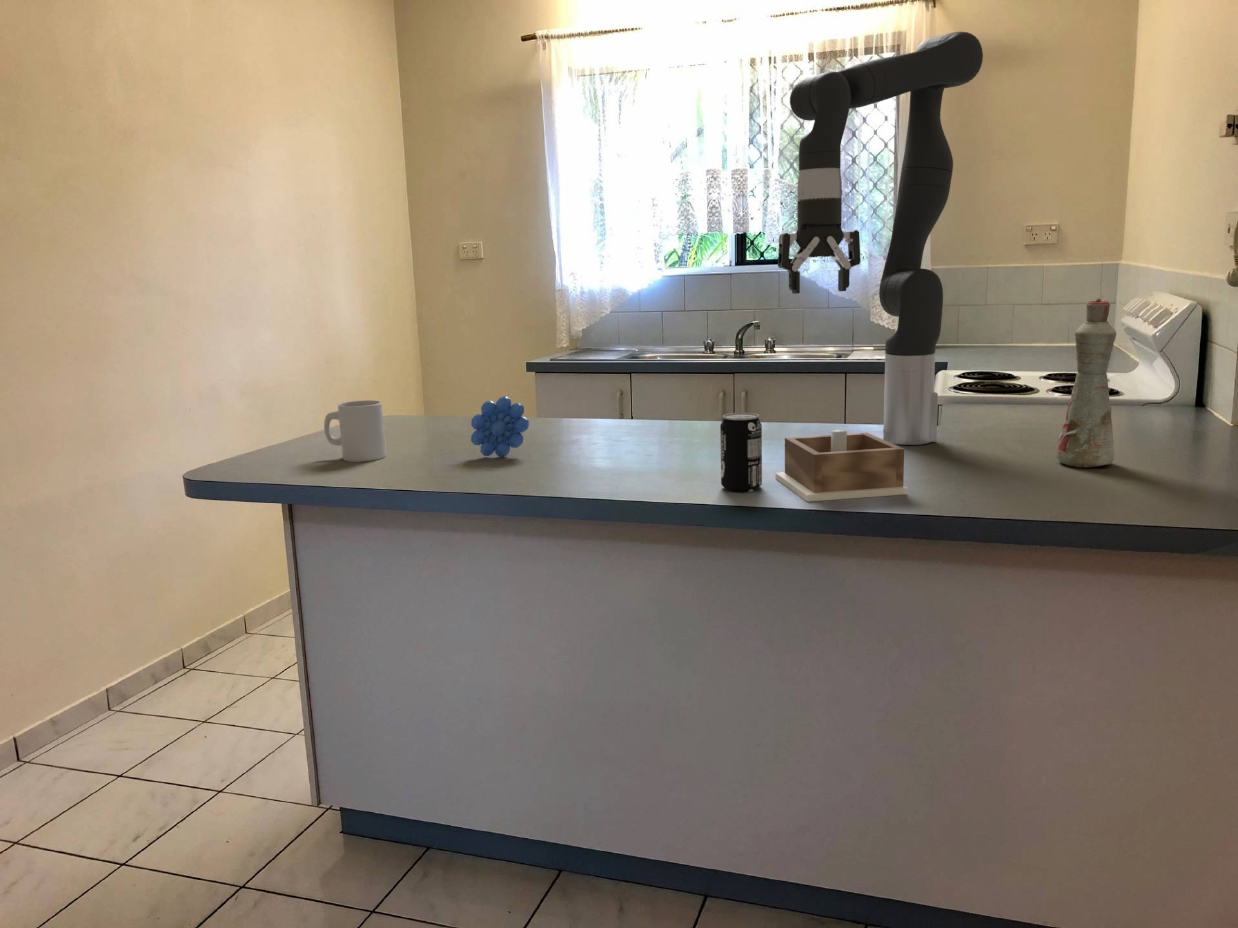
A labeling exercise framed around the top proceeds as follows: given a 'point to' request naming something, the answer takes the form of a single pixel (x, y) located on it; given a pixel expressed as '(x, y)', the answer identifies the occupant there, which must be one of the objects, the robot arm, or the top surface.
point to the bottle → (1090, 394)
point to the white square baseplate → (836, 445)
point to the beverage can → (741, 452)
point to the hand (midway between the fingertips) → (818, 292)
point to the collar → (844, 463)
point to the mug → (359, 430)
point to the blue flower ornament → (499, 427)
